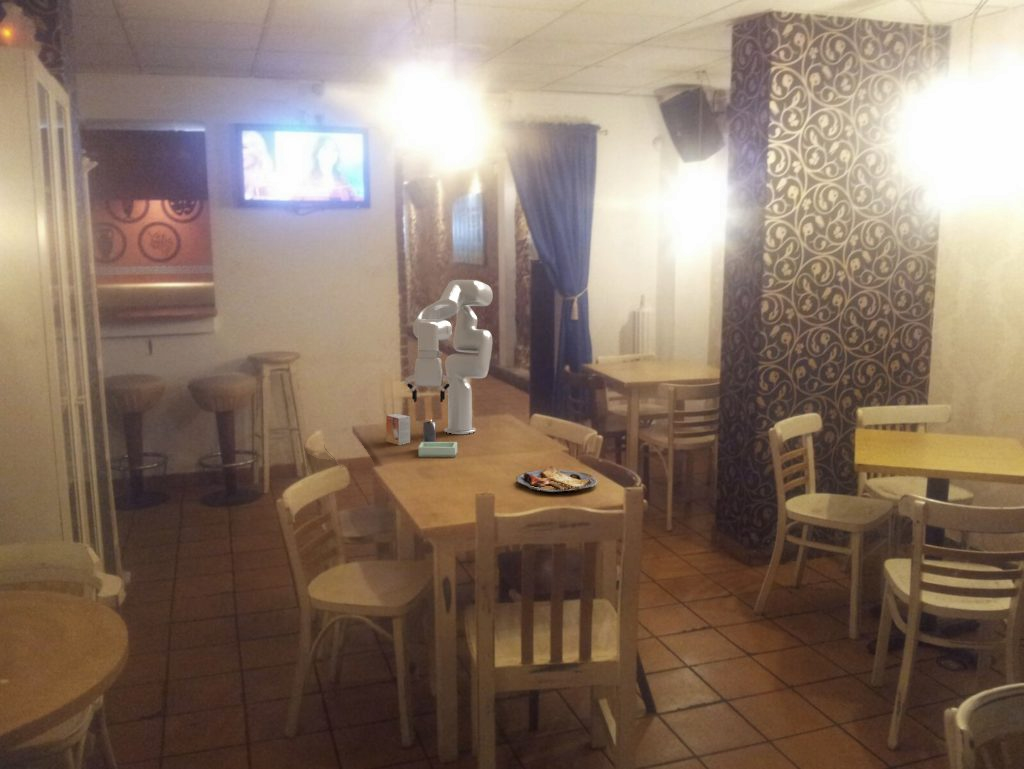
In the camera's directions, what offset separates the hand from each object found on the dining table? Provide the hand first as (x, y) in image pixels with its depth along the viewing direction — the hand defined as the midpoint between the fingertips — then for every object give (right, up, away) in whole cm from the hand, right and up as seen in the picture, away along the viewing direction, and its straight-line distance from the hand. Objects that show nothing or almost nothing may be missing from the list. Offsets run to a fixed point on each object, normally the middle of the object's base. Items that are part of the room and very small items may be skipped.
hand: (428, 401), depth 323 cm
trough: (+4, -19, -6) cm, 20 cm away
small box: (-13, -16, +13) cm, 24 cm away
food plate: (+44, -26, -47) cm, 69 cm away
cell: (0, -18, +3) cm, 18 cm away
